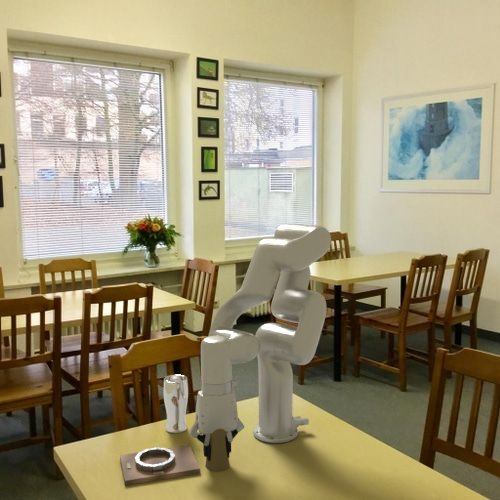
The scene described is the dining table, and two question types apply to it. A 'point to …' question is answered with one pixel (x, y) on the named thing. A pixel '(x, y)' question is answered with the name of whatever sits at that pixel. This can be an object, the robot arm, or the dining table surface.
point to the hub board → (181, 467)
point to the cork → (218, 451)
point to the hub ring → (154, 467)
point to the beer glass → (176, 402)
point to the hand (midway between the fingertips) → (217, 456)
